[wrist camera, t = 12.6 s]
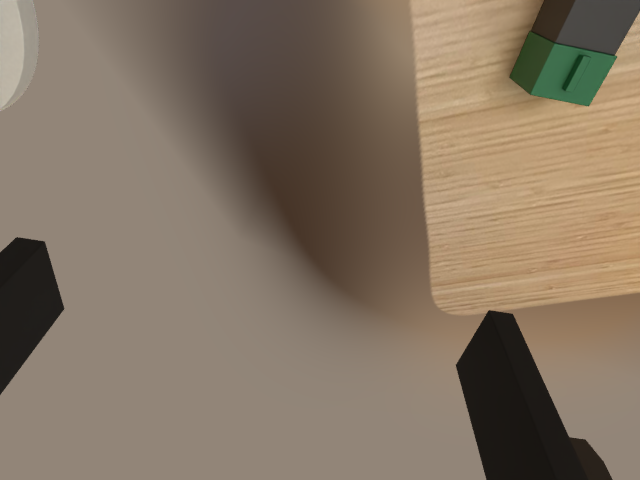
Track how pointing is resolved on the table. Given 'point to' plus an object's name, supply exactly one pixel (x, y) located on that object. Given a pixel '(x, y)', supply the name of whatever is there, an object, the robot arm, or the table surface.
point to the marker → (573, 48)
